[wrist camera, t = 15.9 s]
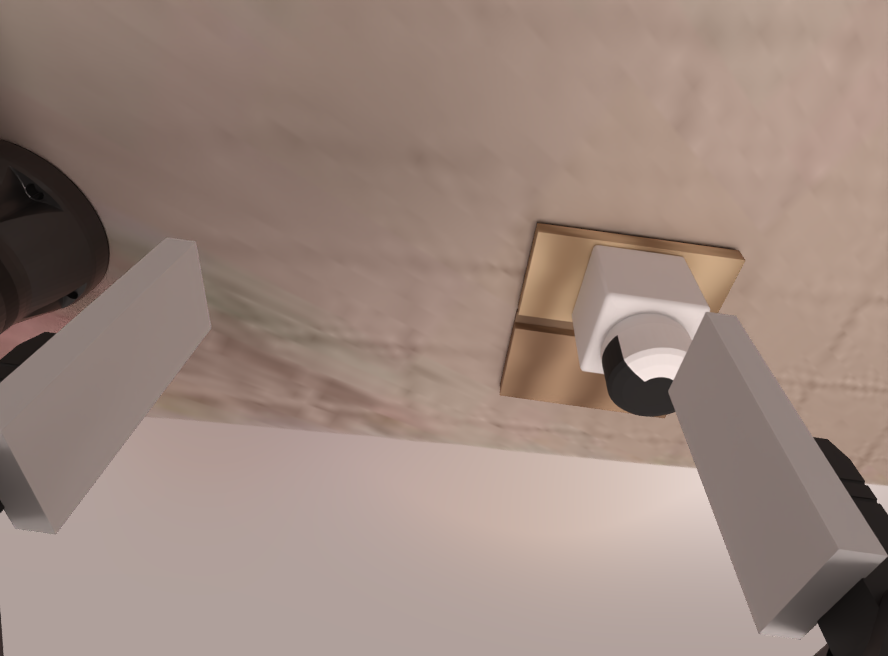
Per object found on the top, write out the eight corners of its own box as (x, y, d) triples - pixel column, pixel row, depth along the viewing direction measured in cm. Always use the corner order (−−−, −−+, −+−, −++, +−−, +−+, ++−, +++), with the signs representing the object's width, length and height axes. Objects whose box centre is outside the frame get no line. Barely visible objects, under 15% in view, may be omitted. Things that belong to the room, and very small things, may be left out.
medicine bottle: (653, 327, 46) (691, 436, 37) (570, 315, 46) (586, 421, 37) (685, 255, 42) (738, 357, 32) (593, 242, 42) (619, 340, 32)
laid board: (499, 385, 53) (499, 395, 52) (517, 308, 48) (517, 318, 47) (661, 407, 53) (664, 418, 52) (696, 333, 48) (701, 343, 47)
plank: (518, 304, 48) (518, 314, 46) (537, 222, 43) (538, 231, 41) (698, 329, 47) (703, 340, 46) (738, 250, 42) (745, 260, 41)
